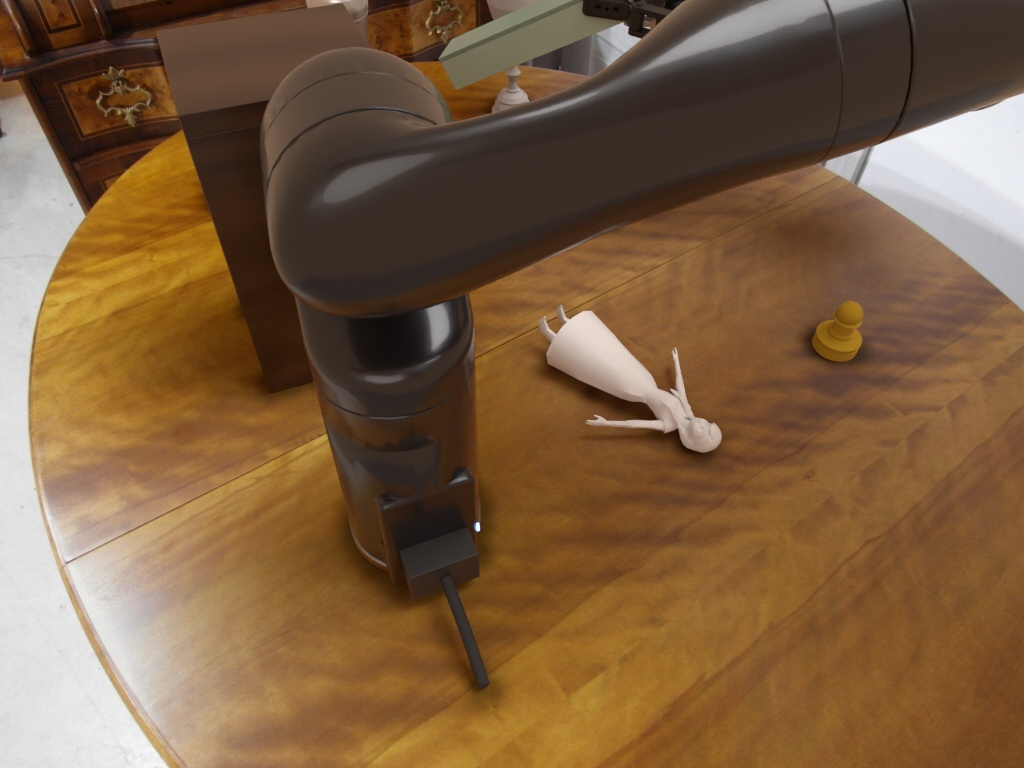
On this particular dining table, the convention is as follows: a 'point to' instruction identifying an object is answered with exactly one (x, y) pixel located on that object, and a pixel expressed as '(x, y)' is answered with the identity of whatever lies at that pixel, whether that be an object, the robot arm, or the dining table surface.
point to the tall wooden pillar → (248, 152)
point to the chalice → (500, 5)
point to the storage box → (518, 39)
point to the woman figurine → (624, 378)
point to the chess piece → (840, 333)
